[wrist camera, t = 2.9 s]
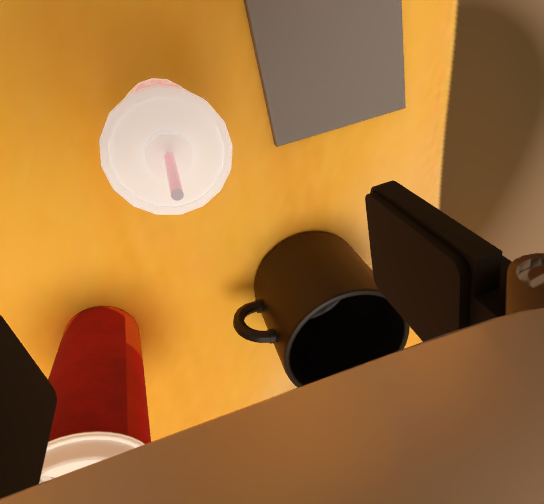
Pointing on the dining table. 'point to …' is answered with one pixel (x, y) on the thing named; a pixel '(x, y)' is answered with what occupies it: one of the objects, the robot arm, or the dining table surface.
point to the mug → (321, 309)
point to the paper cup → (96, 392)
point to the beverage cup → (165, 148)
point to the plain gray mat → (327, 62)
